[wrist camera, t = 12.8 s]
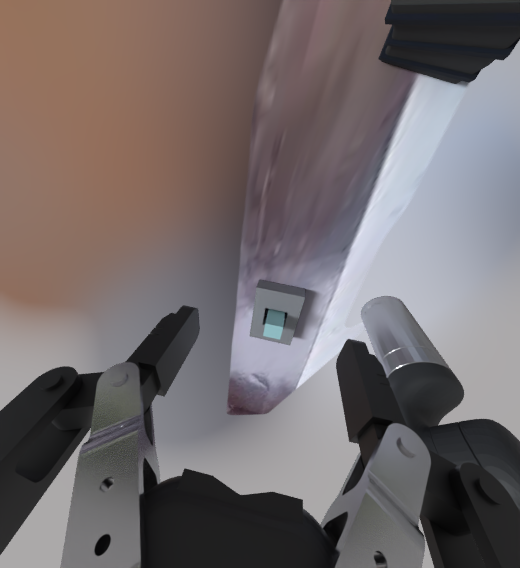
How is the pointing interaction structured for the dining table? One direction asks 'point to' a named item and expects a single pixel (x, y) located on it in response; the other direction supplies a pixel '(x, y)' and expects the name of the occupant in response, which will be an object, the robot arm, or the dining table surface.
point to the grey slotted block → (277, 308)
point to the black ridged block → (450, 36)
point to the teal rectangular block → (274, 324)
